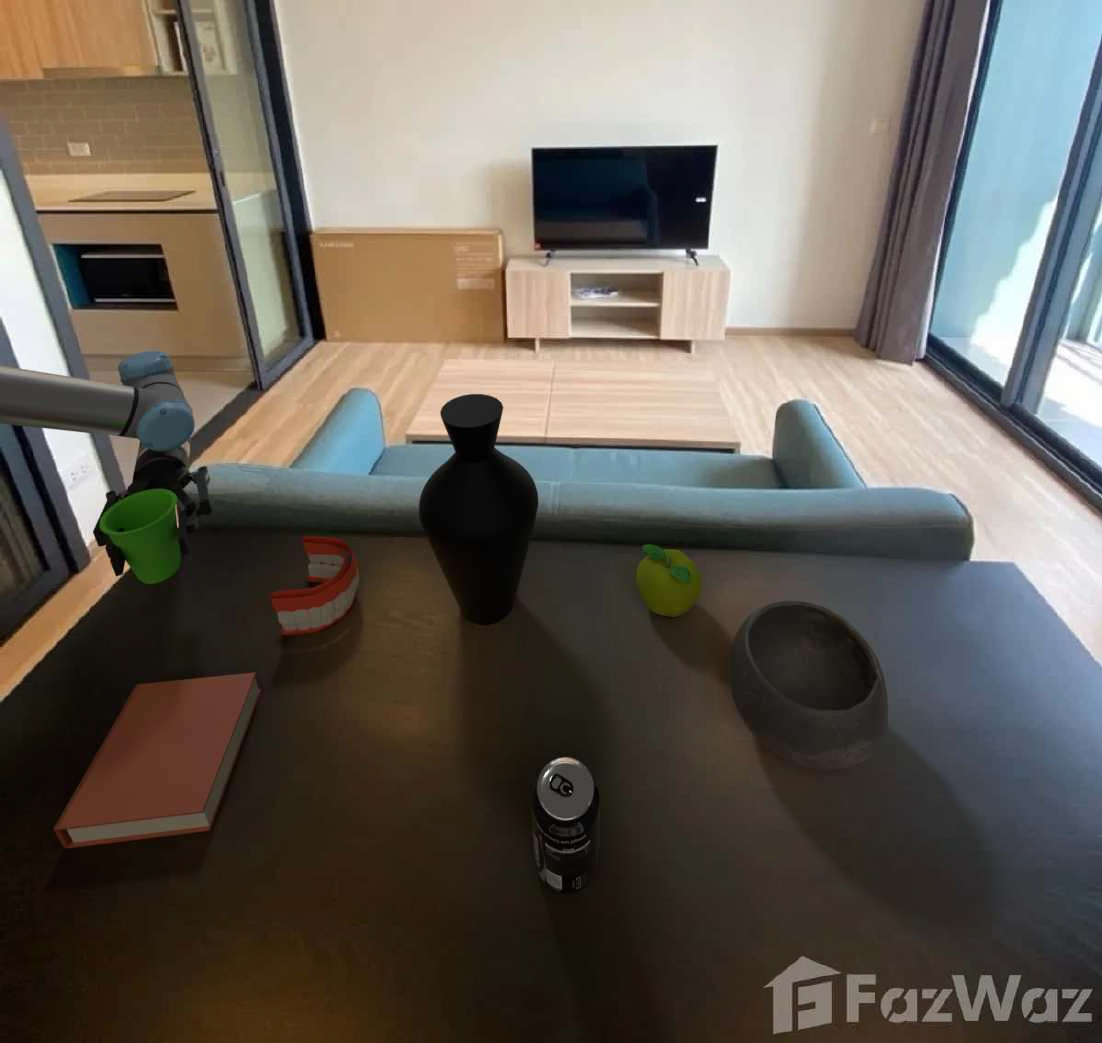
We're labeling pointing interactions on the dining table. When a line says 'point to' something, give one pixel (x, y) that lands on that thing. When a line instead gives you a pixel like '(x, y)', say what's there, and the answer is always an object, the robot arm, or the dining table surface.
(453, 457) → the vase
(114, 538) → the cup
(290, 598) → the toy
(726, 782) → the dining table surface
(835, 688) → the bowl
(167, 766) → the book
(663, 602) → the fruit
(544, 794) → the beverage can
